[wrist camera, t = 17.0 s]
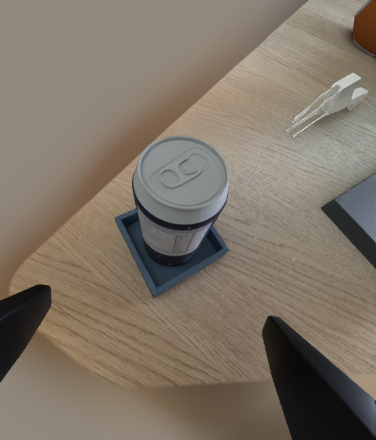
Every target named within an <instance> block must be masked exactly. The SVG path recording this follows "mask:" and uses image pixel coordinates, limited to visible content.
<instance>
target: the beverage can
mask: <svg viewBox="0 0 376 440" xmlns="http://www.w3.org/2000/svg"><path fill="white" fill-rule="evenodd" d="M228 181H229V173H228V168H227V165H226V162H225V160H224V159H223V157H222V156H221V155H220V153H219V152H218V151H217V150H216V149H215V148H213V147H212V146H211V145H209V144H208V143H206V142H204V141H202V140H200V139H197V138H193V137H189V136H180V135H179V136H168V137H164V138H161V139H159V140H156V141H154V142H153V143H151V144H150V145H149V146H148V147H146V148H145V150H144V151H143V152H142V154H141V156H140V158H139V161H138V165H137V168H136V170H135V172H134V175H133V179H132V188H133V194H134V199H135V204H136V209H137V214H138V219H139V224H140V229H141V234H142V239H143V244H144V248H145V251H146V253H147V254H148V256H149V257H150V258H151V259H152V260H153V261H155V262H156V263H158V264H160V265H163V266H168V267H175V266H180V265H182V264H184V263H186V262H188V261H189V260H190V259H191V258H192V257H193V256H194V254H195V253H196V251H197V250H198V248H199V246H200V245H201V243H202V242H203V240H204V238H205V237H206V235H207V233H208V232H209V230H210V229H211V227H212V225H213V224H214V222H215V221H216V219H217V217H218V216H219V214H220V213H221V211H222V209H223V208H224V206H225V204H226V202H227V198H228Z"/></svg>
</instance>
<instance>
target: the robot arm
mask: <svg viewBox="0 0 376 440" xmlns="http://www.w3.org/2000/svg"><path fill="white" fill-rule="evenodd" d="M51 303H52V300H51V287H50V286H48V285H41V284H38V285H35V286H33V287H31V288H29V289H26V290H24V291H22V292H19V293H17V294H15V295H12V296H10V297H8V298H5V299H3V300H1V301H0V382H1V381H2V379H3V378H4V377H5V375H6V374H7V373H8V371H9V370H10V369H11V367H12V366H13V365H14V363H15V362H16V360H17V359H18V358H19V356H20V355H21V354H22V352H23V351H24V349H25V348H26V346H27V345H28V343H29V342H30V340H31V338H32V337H33V335H34V333H35V332H36V330H37V329H38V327H39V325H40V324H41V322H42V320H43V319H44V317H45V315H46V314H47V312H48V310H49V309H50V307H51ZM262 336H263V341H264V345H265V349H266V354H267V358H268V362H269V367H270V371H271V375H272V378H273V382H274V385H275V388H276V391H277V394H278V397H279V400H280V403H281V406H282V410H283V413H284V416H285V419H286V422H287V425H288V428H289V431H290V434H291V437H292V440H376V401H375V400H373V398H372V397H371V396H370V395H369V394H367V393H366V392H365V391H364V390H363V389H362V388H361V387H359V386H358V385H357V384H356V383H355V382H353V381H352V380H351V379H350V378H349V377H348V376H347V375H346V374H344V373H343V372H342V371H341V370H340V369H339V368H337V367H336V366H335V365H334V364H333V363H332V362H330V361H329V360H328V359H327V358H326V357H325V356H324V355H322V354H321V353H320V352H319V351H318V350H317V349H315V348H314V347H313V346H312V345H311V344H310V343H308V342H307V341H306V340H305V339H304V338H303V337H302V336H300V335H299V334H298V333H297V332H296V331H295V330H293V329H292V328H291V327H290V326H289V325H288V324H287V323H285V322H284V321H283V320H282V319H281V318H279V317H277V316H268V317H267V320H266V322H265V325H264V327H263V330H262Z"/></svg>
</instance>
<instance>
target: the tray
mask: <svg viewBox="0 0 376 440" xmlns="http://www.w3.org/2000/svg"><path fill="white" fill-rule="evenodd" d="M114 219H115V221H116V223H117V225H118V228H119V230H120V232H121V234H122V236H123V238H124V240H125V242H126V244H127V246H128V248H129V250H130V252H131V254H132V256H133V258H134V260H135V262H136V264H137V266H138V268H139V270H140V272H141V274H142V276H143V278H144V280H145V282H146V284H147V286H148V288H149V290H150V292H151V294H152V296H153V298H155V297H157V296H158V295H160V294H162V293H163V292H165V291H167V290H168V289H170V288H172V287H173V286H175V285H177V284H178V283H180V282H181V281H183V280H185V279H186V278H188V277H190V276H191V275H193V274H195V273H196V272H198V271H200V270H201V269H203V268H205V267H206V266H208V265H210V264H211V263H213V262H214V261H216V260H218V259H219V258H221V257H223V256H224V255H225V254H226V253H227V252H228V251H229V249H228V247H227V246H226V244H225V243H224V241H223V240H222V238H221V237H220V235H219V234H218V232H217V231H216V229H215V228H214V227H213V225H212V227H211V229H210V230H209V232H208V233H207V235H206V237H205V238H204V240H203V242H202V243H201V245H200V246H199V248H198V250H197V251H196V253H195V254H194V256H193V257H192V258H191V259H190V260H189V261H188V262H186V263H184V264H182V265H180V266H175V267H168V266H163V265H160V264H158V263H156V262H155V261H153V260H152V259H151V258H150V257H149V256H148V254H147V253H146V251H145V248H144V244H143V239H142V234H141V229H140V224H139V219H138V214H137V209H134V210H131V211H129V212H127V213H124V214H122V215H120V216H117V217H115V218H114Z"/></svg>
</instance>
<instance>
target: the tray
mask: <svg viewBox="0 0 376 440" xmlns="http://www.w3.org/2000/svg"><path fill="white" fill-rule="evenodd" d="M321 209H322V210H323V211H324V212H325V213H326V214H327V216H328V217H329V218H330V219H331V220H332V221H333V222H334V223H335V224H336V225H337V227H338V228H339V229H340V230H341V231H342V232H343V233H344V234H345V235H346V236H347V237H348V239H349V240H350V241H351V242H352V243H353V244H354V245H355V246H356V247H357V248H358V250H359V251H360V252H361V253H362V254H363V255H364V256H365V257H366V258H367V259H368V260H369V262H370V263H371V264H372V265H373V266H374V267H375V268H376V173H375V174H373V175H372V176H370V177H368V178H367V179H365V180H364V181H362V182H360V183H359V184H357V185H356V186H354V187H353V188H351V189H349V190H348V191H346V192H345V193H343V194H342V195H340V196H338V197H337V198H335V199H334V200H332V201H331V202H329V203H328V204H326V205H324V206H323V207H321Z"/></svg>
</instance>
